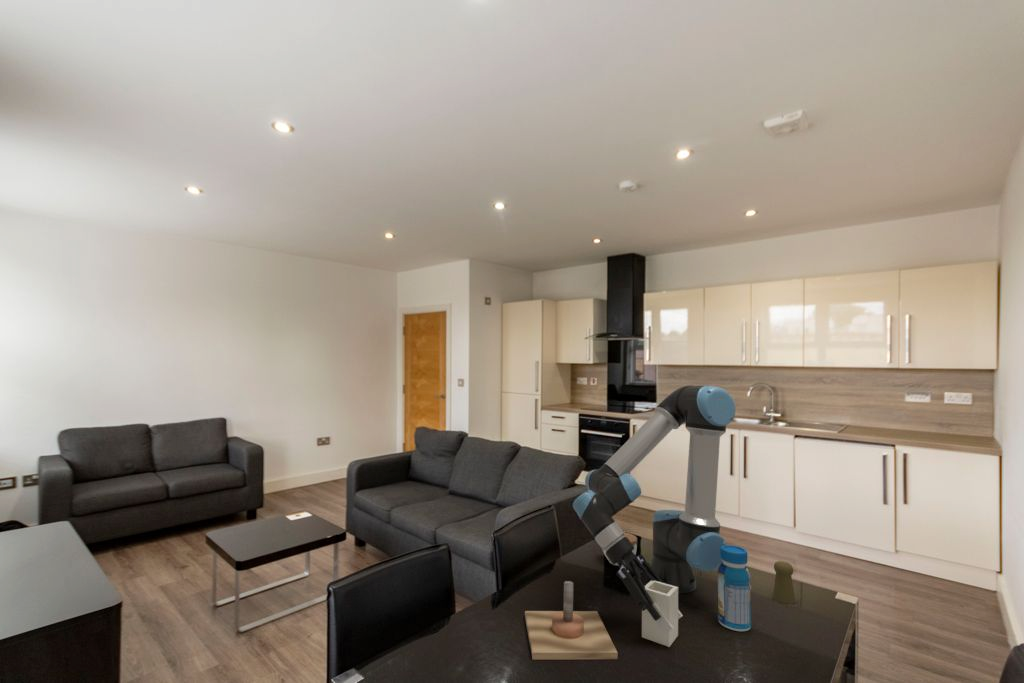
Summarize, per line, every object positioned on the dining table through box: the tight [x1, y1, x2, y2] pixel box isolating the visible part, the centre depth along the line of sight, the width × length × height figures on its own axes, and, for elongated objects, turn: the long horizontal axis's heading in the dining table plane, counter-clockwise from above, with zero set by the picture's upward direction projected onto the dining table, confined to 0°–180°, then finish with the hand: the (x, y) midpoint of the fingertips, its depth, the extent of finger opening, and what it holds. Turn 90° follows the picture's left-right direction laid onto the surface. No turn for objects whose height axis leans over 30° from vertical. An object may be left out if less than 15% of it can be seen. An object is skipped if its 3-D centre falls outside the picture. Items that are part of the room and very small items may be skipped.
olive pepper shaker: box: [772, 560, 796, 605], centre depth 145 cm, size 6×6×11 cm
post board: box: [524, 580, 619, 661], centre depth 120 cm, size 20×20×13 cm
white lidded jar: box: [602, 531, 638, 567], centre depth 171 cm, size 13×13×11 cm
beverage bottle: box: [716, 544, 752, 632], centre depth 129 cm, size 8×8×20 cm
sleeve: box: [641, 580, 679, 648], centre depth 122 cm, size 7×7×12 cm
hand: (673, 624), depth 119 cm, fingers closed on sleeve, 7 cm apart
